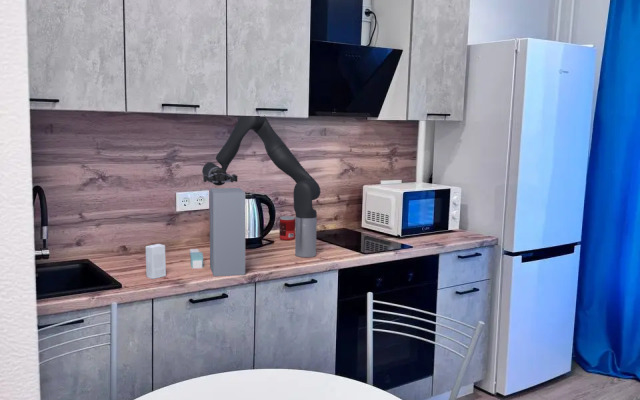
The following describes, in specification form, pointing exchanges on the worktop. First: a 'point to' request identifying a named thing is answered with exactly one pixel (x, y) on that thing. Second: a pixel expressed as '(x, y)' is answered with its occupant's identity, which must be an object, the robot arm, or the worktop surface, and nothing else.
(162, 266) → the skincare box
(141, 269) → the worktop surface
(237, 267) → the stand
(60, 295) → the worktop surface
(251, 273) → the worktop surface
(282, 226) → the canned food
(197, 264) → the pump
